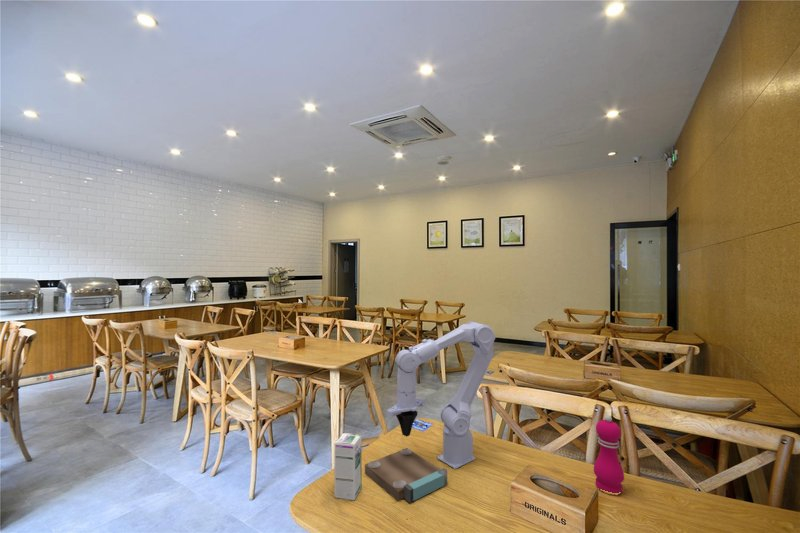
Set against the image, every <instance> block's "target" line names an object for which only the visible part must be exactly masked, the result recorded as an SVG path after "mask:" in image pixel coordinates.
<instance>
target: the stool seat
mask: <svg viewBox="0 0 800 533" xmlns="http://www.w3.org/2000/svg"><path fill="white" fill-rule="evenodd" d="M439 469H440V468H439V467H438V466H436V465H435V464H433V463H431V462H430V461H428V460H427V459H425V458H423V457H422V456H421V455H418V454H417V453H415V452H414V451H413V450H412V449H409V448H408V447H406V448H402V449H401V450H398V451H396V452H393V453H390V454H389V455H385V456H383V457H381V458H378V459H375V460H372V461H369V462H368V463H365V464H364V474H365V475H366V476H368V478H370V479H371V480H372V481H373V482H374V483H376V484H377V485H378V486H379V487H380V488H381V489H383V490H384V491H385V492H386V493H388V495H390V496H391V497H392V498H394V499H395V500H396V501H397V502H400V501H402V500H405V499H404V485H406V484H410V483H412V482H414V481H417V480H419V479H421V478H423V477H425V476H428V475H430V474H432V473H434V472H436V471H438V470H439Z"/></svg>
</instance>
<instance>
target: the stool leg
mask: <svg viewBox="0 0 800 533" xmlns="http://www.w3.org/2000/svg"><path fill="white" fill-rule="evenodd" d="M446 485H448V470H447V469H445V468H439V470H438V471H436V472H434V473H432V474H430V475H428V476H425V477H423V478H421V479H419V480H417V481H414V482H412V483H410V484H406V485H404V499H403V500H406V501H407V502H408V503H409V504H410V503H413V502H414V501H416V500H419V499H420V498H423V497H424V496H426V495H429V494H430V493H432V492H435V491H436V490H438V489H440V488H442V487H444V486H446Z"/></svg>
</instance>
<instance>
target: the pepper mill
mask: <svg viewBox="0 0 800 533" xmlns="http://www.w3.org/2000/svg"><path fill="white" fill-rule="evenodd" d="M620 427H621V426H619V425H618V424H617V423H616V422H614V421H613V418H612V416H611V415H608V414H607V415H605V416H604V419H602V420H599V421H597V423H596V426H595V431H596V434H597V435H598V437H597V439H598V440H597V442H598V444H599V454H598V456H597V458H596V459H595V462H594V463H593V472H594V475H595V486H597V487H598V488H599V489H602V490H605V491H608V492H612V493H619V492H621V491H622V492H623V485H622V484H623V482H624V480H625V473H624V470H623V466H622V464H621V463H620V461H619V456H618V449H619V447H620V444H619V443H620V439H621V436H622V430H621V428H620ZM597 487H596V488H597ZM598 488H597V489H598ZM599 489H598V490H599Z"/></svg>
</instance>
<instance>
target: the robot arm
mask: <svg viewBox="0 0 800 533" xmlns="http://www.w3.org/2000/svg"><path fill="white" fill-rule="evenodd" d="M496 339H497V338H496V335H495V333H494V331H493V329H492V327H491V326H489V325H487V324H482V323H479V322H477V321H468V322H467V323H464V324H461V325H460V326H459V327H457V328H455V329H453V330H451V331H449V332H448V333H446V334H444V335H442V336H440V337H438V338H436V339H435V340H433V339H431V338H429V339H427V338H424V339H422V340H421V342H420V343H418V344H416V345H414V346H409V347H408V349H402V350H399V351H398V353H397V354H396V356H395V358H394V360H395V364H396V365H397V376H396V378H397V379H396V380H397V382H396V390H397V391H396V394H397V395H396V396H397V397H396V404H394V405H393V406H392V407H389V408H388V409H386V417H387V418H390V419H393V418H394V417H395V416H396V418H397V421H398V423H399V426H400V430H401V434H402V436H404V437H409V436H410V435H411V433H412V427H413V425H414V422H415V421H416V420H415V419H416V418H417V416H418V408H419V407H425V399H423V398H417V393H416V392H417V389H416V388H417V387H416V386H417V384H416V383H417V375H416V372H417V369H418V367H419V366H420V365H422V364H424V363H426V362H428V361H430V360H432V359H434V358H436V357H438V355H439V352H440V351H441V350H444V349H446V348H448V347H450V346H453V345H455V344H458V343H460V342H469V343H470V344H471V346H472V348H473V351H474V355H473V356H472V360H471V362H470V363H469V366H468V368H467V370H466V372H465V374H464V376H463V379H462V381H461V383H460V385H459V387H458V390H457V392H456V394H455V396H454V397H453V398H451V399H450V400H448V403H447V404H446V405H445V406H444V407H443V408H442V409H441V411H440V419H441V421H442V423H443V428H442V434H443V436H442V437H443V438H442V454H439V455H437V457H436V459H438V460H439V461H441V462H443V464H446V465H448V466H449V467H451V468H452V469H455V470H456V469H459V468H460V467H463V466H464V465H467V464H469V463H470V462H472V461H475V460H476V457H475V456H474V437H473V434H472V431H471V430H470V424H471V420H472V414H473V413H472V409H471V406H472V404H473V401H474V399H475V396H476V395H477V393H478V390H479V388H480V386H481V385H482V384H481V383H482V381H483V379H484V377H485V375H486V372H487V370H488V368H489V366H490V363H491V361H492V359H493V357H494V342H495V340H496Z"/></svg>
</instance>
